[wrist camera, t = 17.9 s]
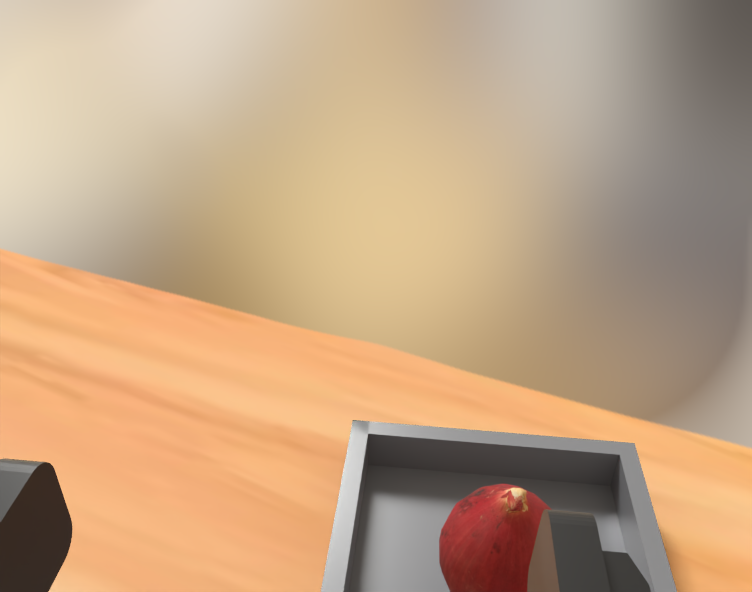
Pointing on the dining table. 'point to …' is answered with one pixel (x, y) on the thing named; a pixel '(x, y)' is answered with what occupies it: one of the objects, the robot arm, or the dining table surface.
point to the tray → (461, 478)
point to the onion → (490, 540)
